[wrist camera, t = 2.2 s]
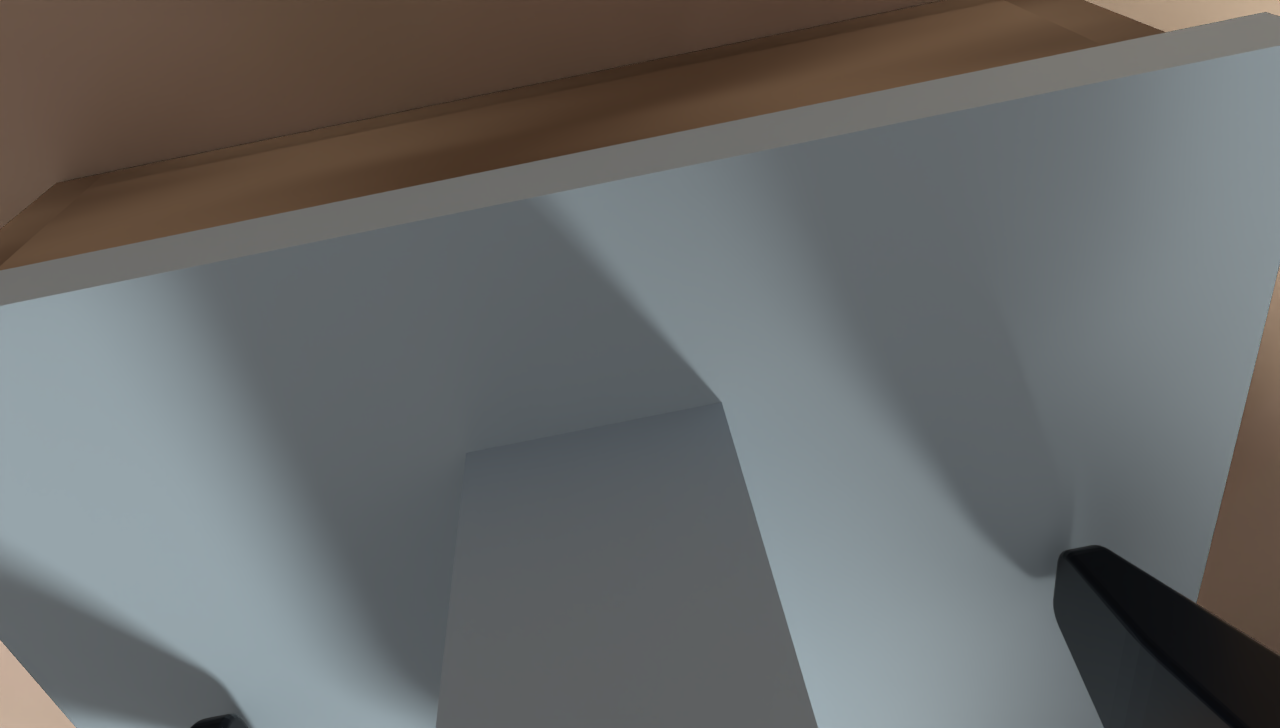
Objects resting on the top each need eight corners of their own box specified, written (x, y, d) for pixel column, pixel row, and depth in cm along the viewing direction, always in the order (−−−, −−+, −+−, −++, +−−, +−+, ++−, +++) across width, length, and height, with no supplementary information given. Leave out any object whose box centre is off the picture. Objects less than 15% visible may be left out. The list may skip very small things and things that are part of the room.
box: (1035, -19, 11) (1223, 55, 8) (997, 566, 16) (1100, 739, 13) (56, 183, 11) (-122, 330, 8) (347, 693, 16) (304, 892, 13)
